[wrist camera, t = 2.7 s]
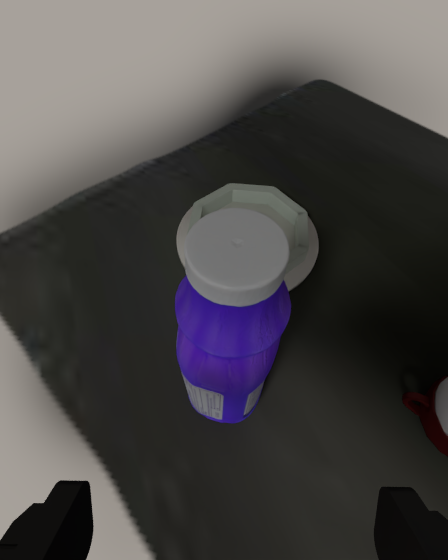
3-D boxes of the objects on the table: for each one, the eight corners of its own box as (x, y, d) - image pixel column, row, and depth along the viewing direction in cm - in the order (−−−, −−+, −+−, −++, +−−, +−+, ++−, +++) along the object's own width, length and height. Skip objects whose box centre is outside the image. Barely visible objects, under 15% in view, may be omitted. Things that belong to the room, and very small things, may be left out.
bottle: (208, 330, 29) (195, 170, 14) (270, 347, 28) (323, 195, 14) (180, 413, 25) (122, 308, 11) (250, 435, 24) (294, 356, 10)
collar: (252, 175, 41) (254, 158, 38) (346, 248, 34) (354, 233, 32) (150, 231, 35) (145, 216, 33) (239, 330, 29) (240, 318, 27)
